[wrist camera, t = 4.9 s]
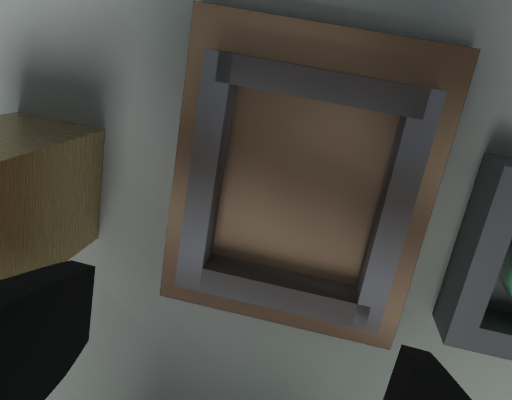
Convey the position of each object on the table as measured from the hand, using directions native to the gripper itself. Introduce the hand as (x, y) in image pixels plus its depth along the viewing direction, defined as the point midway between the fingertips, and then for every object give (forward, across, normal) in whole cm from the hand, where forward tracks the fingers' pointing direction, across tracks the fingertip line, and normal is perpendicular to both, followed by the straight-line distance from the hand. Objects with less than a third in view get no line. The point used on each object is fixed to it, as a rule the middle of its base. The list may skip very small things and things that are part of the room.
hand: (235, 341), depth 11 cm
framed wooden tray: (+9, 0, -2) cm, 10 cm away
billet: (+9, +10, +1) cm, 14 cm away
